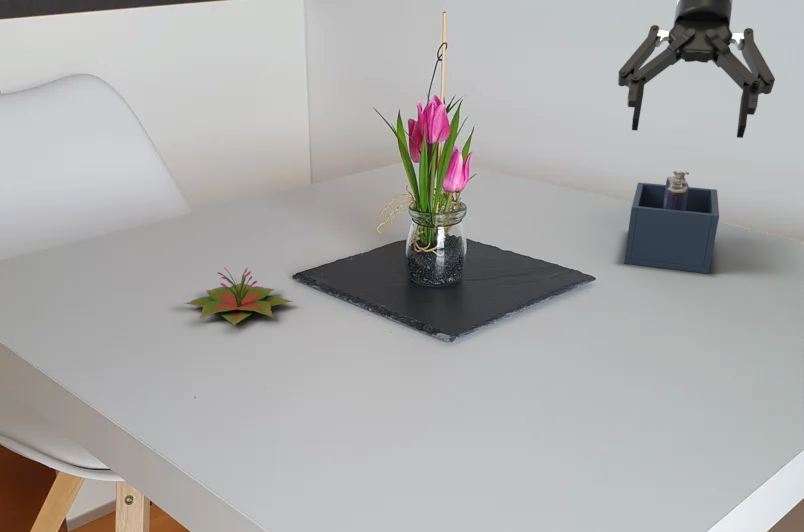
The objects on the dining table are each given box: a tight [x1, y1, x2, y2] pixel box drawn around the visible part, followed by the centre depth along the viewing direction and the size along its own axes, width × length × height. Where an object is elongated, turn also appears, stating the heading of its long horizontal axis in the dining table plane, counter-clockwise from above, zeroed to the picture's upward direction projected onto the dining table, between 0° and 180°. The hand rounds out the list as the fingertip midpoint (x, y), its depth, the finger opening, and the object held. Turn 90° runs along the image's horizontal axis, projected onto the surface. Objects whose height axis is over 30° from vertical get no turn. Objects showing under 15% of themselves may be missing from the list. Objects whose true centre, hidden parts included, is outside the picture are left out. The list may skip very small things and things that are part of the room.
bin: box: [623, 182, 720, 274], centre depth 114 cm, size 11×14×8 cm
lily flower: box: [183, 267, 294, 326], centre depth 96 cm, size 12×12×5 cm
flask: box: [663, 170, 690, 211], centre depth 114 cm, size 9×3×11 cm, turn 161°
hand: (687, 128), depth 114 cm, fingers open, 13 cm apart
